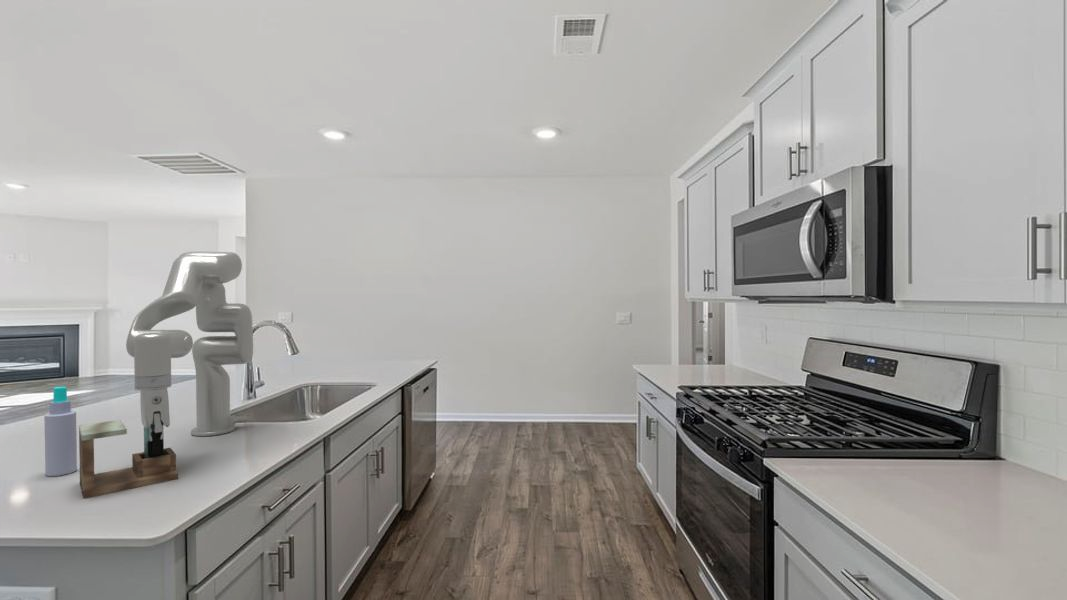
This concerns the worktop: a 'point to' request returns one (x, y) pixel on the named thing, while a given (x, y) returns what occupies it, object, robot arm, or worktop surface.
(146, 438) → the peg
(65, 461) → the spray bottle
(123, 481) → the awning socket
